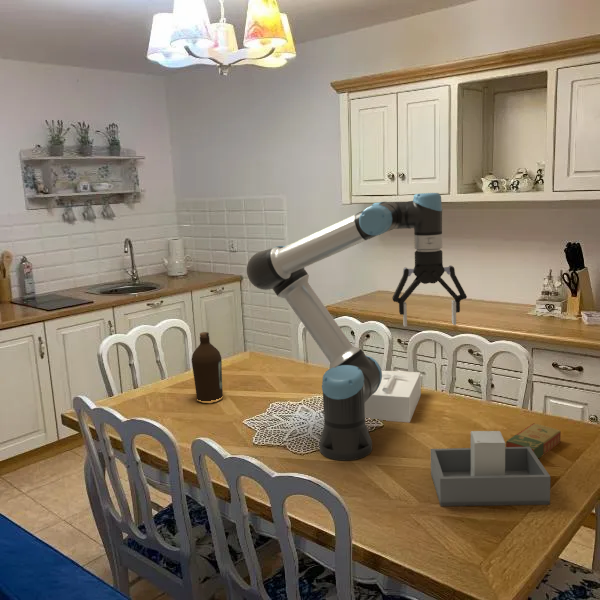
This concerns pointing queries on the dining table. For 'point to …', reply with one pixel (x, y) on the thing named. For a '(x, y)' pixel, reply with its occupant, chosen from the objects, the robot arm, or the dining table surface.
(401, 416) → the hammer embossed block
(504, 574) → the dining table surface
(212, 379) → the olive oil
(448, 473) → the open box
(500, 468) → the supplement box
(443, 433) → the dining table surface
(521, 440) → the carton
